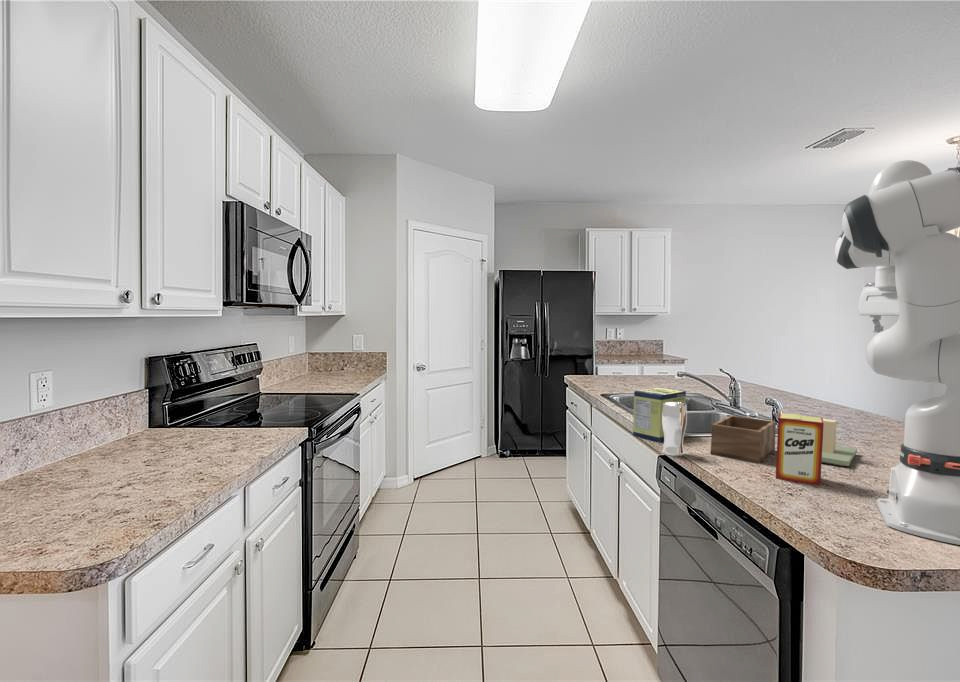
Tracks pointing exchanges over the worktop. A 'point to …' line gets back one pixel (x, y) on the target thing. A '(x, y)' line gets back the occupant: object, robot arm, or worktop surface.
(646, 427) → the protein box
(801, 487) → the worktop surface
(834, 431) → the lid
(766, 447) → the open wooden box
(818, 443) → the baking soda box
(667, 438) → the beer glass
